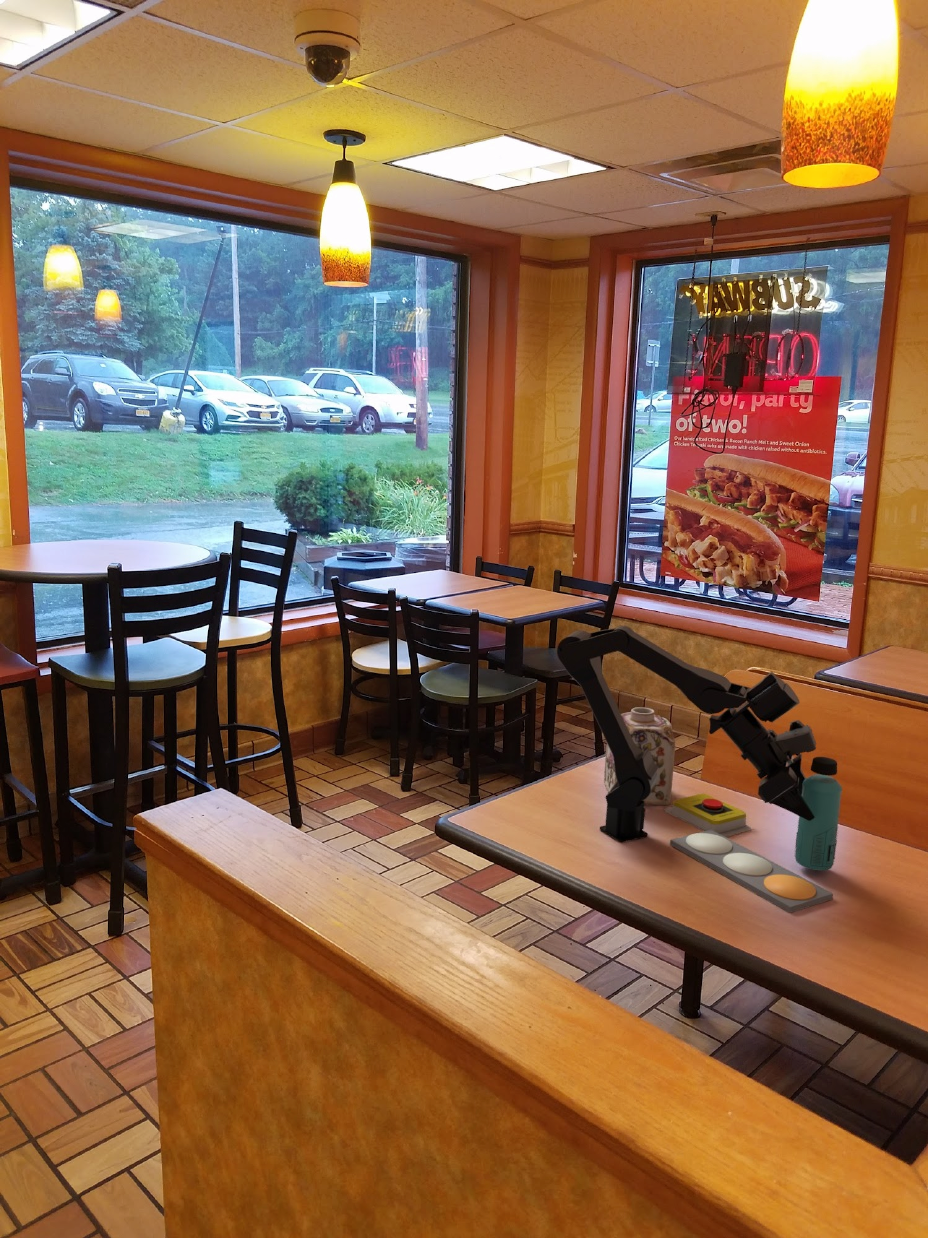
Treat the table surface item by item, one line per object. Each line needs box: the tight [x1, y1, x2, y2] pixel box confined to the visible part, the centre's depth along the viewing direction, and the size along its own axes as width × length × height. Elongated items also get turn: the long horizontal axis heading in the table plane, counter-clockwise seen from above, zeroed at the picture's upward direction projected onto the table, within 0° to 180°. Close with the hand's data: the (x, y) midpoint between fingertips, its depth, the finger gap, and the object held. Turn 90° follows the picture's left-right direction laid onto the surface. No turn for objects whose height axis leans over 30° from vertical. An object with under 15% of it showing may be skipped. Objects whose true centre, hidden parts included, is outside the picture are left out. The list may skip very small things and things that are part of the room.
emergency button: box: [663, 793, 752, 838], centre depth 180 cm, size 9×4×15 cm
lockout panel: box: [669, 830, 834, 914], centre depth 159 cm, size 10×27×1 cm, turn 30°
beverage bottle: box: [794, 756, 843, 871], centre depth 159 cm, size 6×7×20 cm
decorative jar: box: [603, 706, 676, 806], centre depth 190 cm, size 12×12×18 cm
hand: (813, 809), depth 159 cm, fingers open, 9 cm apart
